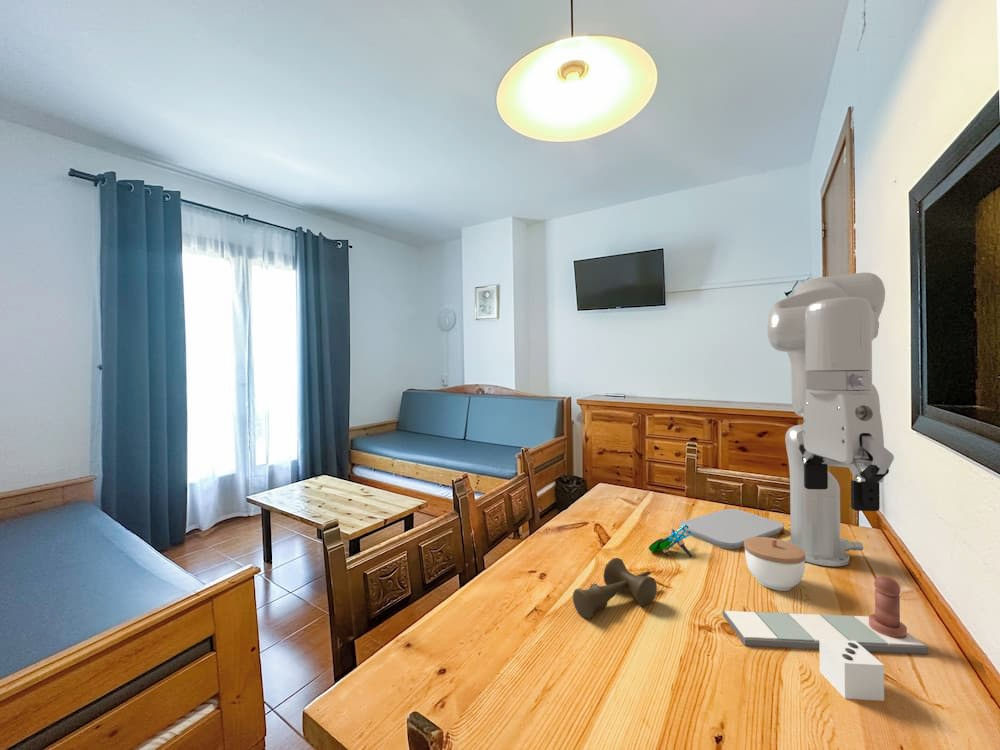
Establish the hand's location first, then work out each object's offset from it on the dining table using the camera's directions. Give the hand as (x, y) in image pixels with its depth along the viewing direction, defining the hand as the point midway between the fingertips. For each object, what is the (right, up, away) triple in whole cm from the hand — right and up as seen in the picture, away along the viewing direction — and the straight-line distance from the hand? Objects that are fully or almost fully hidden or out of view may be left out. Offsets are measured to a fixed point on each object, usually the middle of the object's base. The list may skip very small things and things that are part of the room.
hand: (838, 498), depth 59 cm
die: (0, -27, -2) cm, 26 cm away
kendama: (-27, -27, +21) cm, 43 cm away
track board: (+4, -26, +9) cm, 28 cm away
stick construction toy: (-7, -26, +40) cm, 49 cm away
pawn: (+15, -25, +8) cm, 30 cm away
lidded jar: (+8, -26, +26) cm, 38 cm away
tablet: (+15, -26, +53) cm, 61 cm away
